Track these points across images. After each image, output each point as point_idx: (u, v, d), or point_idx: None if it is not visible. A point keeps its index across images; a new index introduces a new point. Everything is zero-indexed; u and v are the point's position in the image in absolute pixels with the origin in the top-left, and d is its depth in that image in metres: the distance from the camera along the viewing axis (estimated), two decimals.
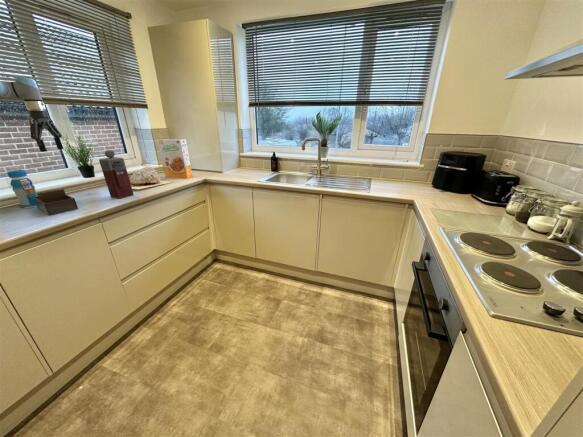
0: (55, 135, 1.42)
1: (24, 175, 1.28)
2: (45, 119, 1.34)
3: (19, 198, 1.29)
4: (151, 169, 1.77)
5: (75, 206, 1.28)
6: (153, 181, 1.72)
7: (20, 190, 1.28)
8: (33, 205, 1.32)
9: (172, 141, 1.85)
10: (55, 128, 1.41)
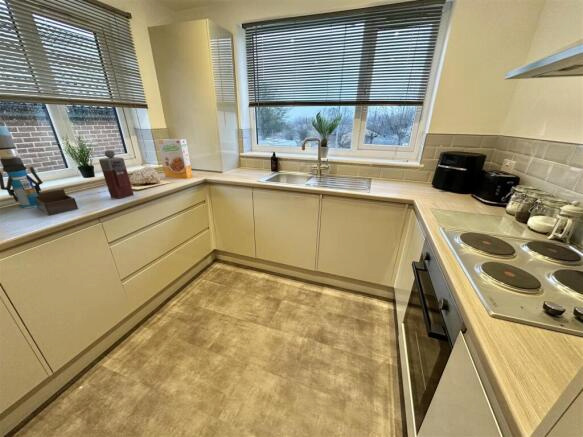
0: (33, 182, 1.33)
1: (24, 175, 1.28)
2: (19, 166, 1.27)
3: (19, 198, 1.29)
4: (151, 169, 1.77)
5: (75, 206, 1.28)
6: (153, 181, 1.72)
7: (20, 190, 1.28)
8: (33, 205, 1.32)
9: (172, 141, 1.85)
10: (34, 175, 1.32)
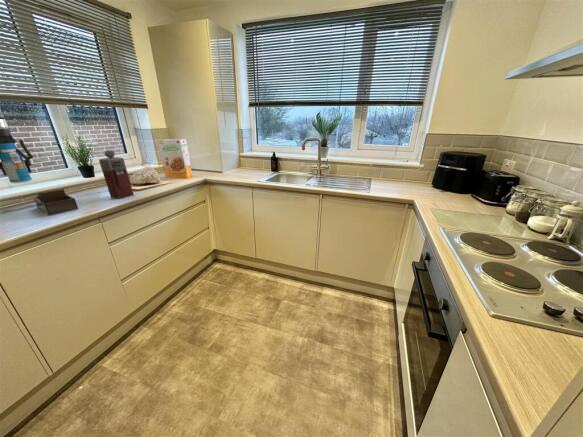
0: (23, 157, 1.28)
1: (13, 148, 1.23)
2: (7, 138, 1.21)
3: (8, 172, 1.23)
4: (151, 169, 1.77)
5: (75, 206, 1.28)
6: (153, 181, 1.72)
7: (9, 163, 1.22)
8: (23, 180, 1.27)
9: (172, 141, 1.85)
10: (24, 149, 1.27)
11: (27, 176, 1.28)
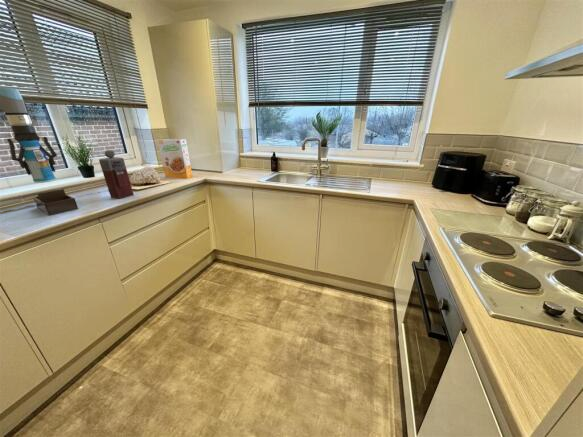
0: (47, 155, 1.21)
1: (37, 145, 1.16)
2: (31, 135, 1.15)
3: (32, 170, 1.16)
4: (151, 169, 1.77)
5: (75, 206, 1.28)
6: (153, 181, 1.73)
7: (33, 162, 1.15)
8: (47, 179, 1.20)
9: (172, 141, 1.85)
10: (48, 146, 1.20)
11: (51, 175, 1.22)
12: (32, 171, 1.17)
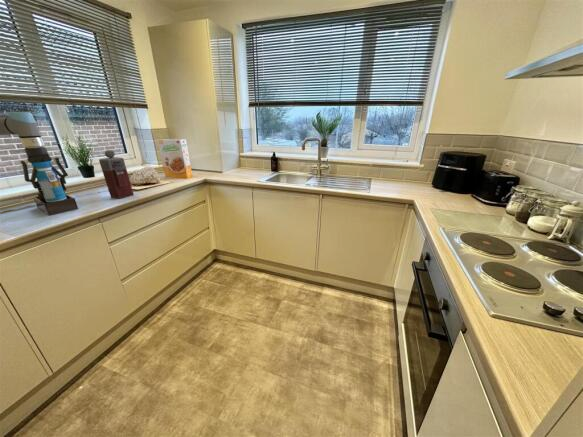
0: (58, 175, 1.24)
1: (49, 166, 1.19)
2: (44, 156, 1.18)
3: (44, 191, 1.19)
4: (151, 169, 1.77)
5: (75, 206, 1.28)
6: (153, 181, 1.73)
7: (45, 182, 1.18)
8: (58, 199, 1.23)
9: (172, 141, 1.85)
10: (59, 166, 1.23)
11: (62, 194, 1.24)
12: (44, 191, 1.20)
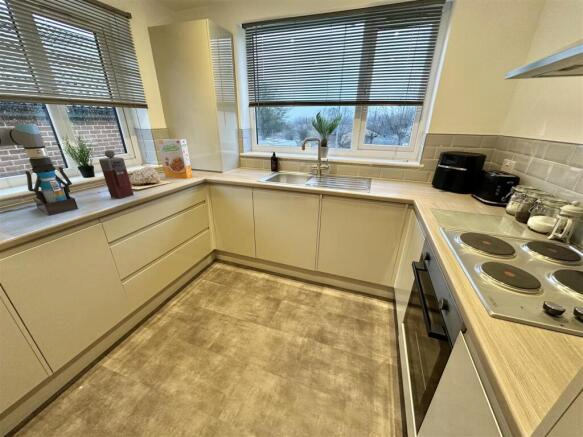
0: None
1: (53, 176, 1.21)
2: (48, 166, 1.20)
3: (48, 200, 1.21)
4: (151, 169, 1.77)
5: (75, 206, 1.28)
6: (153, 181, 1.73)
7: (49, 192, 1.20)
8: None
9: (172, 141, 1.85)
10: (63, 176, 1.25)
11: None
12: (48, 200, 1.21)
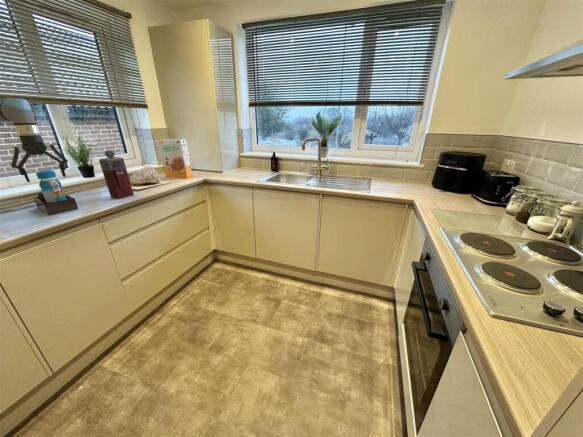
0: (58, 161, 1.23)
1: (53, 176, 1.21)
2: (39, 144, 1.16)
3: (48, 200, 1.21)
4: (151, 169, 1.77)
5: (75, 206, 1.28)
6: (153, 181, 1.73)
7: (49, 192, 1.20)
8: None
9: (172, 141, 1.85)
10: (57, 153, 1.21)
11: None
12: (48, 200, 1.21)
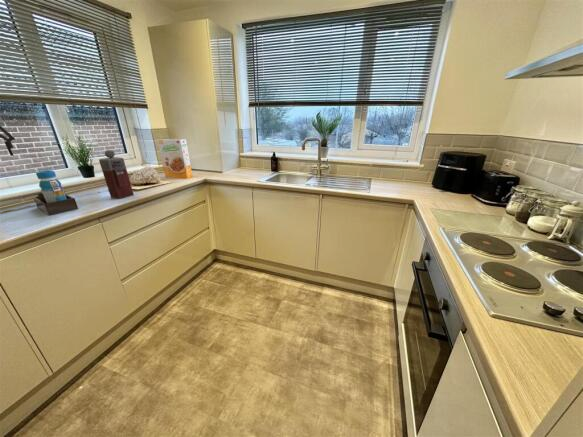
0: (3, 138, 1.14)
1: (53, 176, 1.21)
2: None
3: (48, 200, 1.21)
4: (151, 169, 1.77)
5: (75, 206, 1.28)
6: (153, 181, 1.73)
7: (49, 192, 1.20)
8: None
9: (172, 141, 1.85)
10: (1, 130, 1.12)
11: None
12: (48, 200, 1.21)
